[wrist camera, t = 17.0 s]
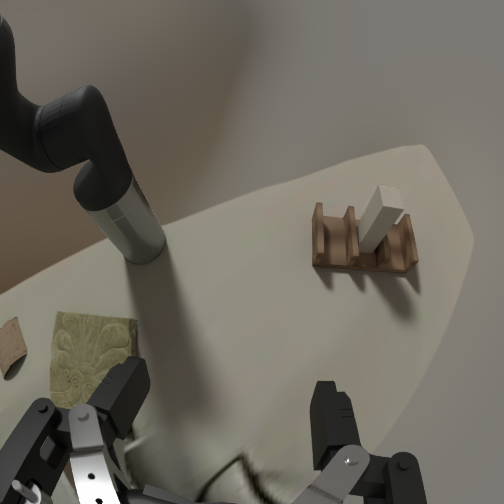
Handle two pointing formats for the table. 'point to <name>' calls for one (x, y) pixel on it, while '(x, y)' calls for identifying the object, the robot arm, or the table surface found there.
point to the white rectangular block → (378, 217)
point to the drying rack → (346, 244)
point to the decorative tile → (86, 354)
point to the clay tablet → (11, 344)
